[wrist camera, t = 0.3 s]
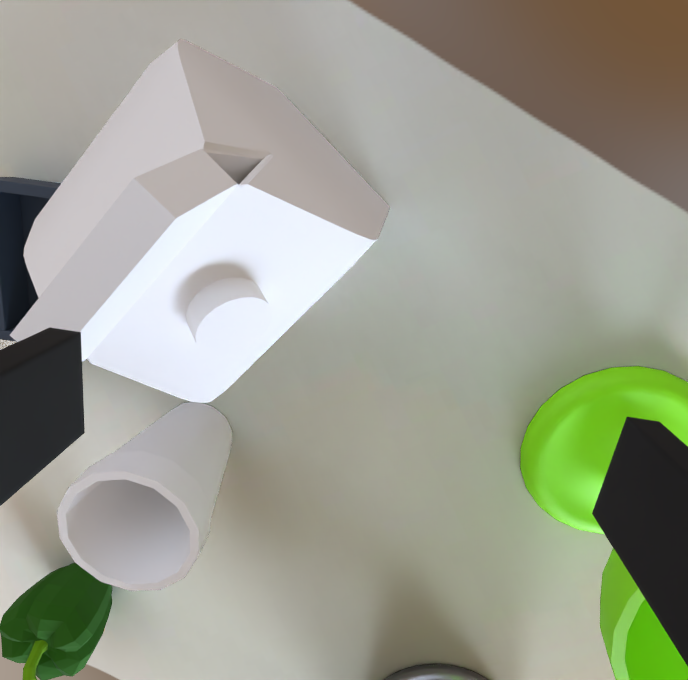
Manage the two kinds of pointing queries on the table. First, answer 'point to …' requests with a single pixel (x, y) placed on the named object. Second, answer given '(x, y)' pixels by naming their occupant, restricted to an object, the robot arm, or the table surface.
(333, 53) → the table surface
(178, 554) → the foam cup
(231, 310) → the milk
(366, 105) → the table surface
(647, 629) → the wineglass
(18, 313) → the tray
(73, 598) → the bell pepper
